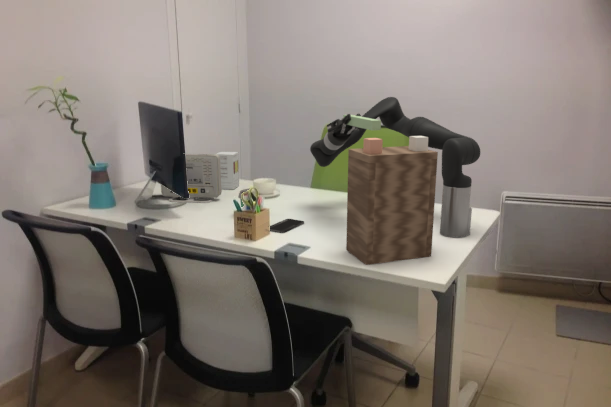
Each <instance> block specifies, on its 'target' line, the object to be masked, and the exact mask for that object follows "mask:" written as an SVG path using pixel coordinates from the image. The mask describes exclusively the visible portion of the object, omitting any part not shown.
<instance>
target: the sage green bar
mask: <svg viewBox="0 0 611 407" xmlns="http://www.w3.org/2000/svg"><path fill="white" fill-rule="evenodd" d="M342 115H343V116H342V118H344V117H345V116H346V115H347V114H342ZM350 115H351V120H350V121H349V123H348V124H347V125H351V126H355V127H359V128H364V129H367V130H368V131H381V130H382V122H381V120H380V119H377V118H376V119H371V118H366V117H362V115H361V116H356V115H354V114H350Z"/></svg>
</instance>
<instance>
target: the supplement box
mask: <svg viewBox="0 0 611 407" xmlns="http://www.w3.org/2000/svg"><path fill="white" fill-rule="evenodd" d="M216 154H217V155H219V156H220V165H221V190H229V189H234V190H235V189H237V188H238V187H240V170H239V169H240V167H239V166H240V162H239V152H238V151H219V152H217V153H216ZM236 187H237V188H236Z"/></svg>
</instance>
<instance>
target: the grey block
mask: <svg viewBox="0 0 611 407" xmlns="http://www.w3.org/2000/svg"><path fill="white" fill-rule="evenodd" d="M408 138H409V140H408V146H409V150H412V151H428V150H429V147H428V137H425V136H409V137H408Z"/></svg>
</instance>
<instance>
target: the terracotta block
mask: <svg viewBox="0 0 611 407" xmlns="http://www.w3.org/2000/svg"><path fill="white" fill-rule="evenodd" d="M383 143H384V142H383V138H378V137H366V138H363V147H362V148H363V152H364V153H368V154H381V153H382V147H383Z"/></svg>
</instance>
